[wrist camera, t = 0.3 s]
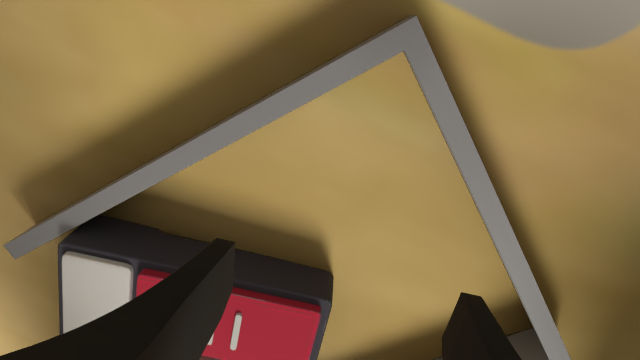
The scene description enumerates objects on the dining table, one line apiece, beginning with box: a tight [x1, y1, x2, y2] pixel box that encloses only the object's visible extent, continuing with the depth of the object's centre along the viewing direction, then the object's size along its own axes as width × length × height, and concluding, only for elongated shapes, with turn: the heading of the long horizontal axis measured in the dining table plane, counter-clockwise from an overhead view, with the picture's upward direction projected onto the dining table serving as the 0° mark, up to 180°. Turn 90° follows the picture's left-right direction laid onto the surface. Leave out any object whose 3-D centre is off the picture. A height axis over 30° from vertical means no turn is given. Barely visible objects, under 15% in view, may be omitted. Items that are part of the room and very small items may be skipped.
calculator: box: [58, 214, 333, 360], centre depth 26 cm, size 11×4×15 cm
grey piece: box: [3, 15, 571, 360], centre depth 25 cm, size 25×20×2 cm
